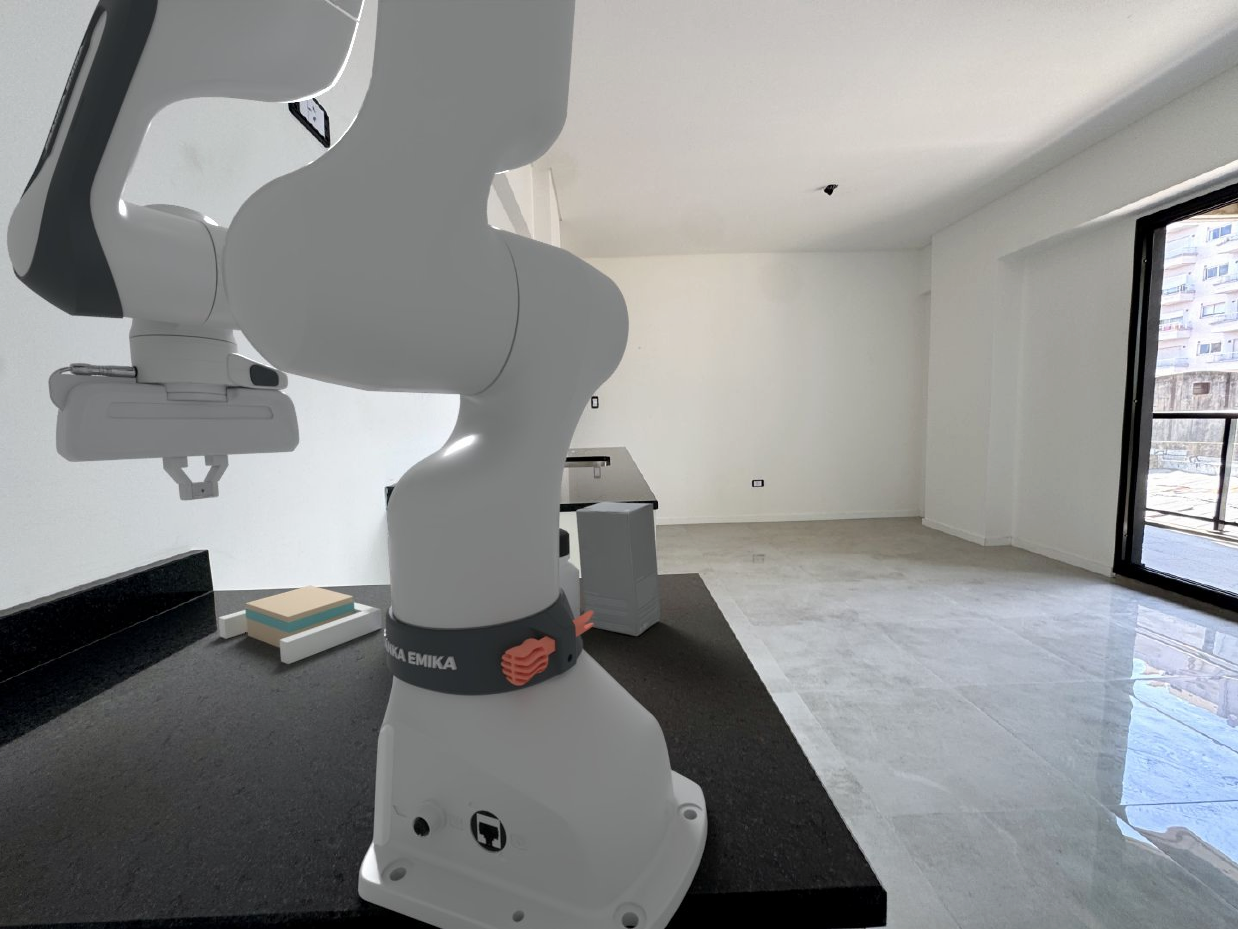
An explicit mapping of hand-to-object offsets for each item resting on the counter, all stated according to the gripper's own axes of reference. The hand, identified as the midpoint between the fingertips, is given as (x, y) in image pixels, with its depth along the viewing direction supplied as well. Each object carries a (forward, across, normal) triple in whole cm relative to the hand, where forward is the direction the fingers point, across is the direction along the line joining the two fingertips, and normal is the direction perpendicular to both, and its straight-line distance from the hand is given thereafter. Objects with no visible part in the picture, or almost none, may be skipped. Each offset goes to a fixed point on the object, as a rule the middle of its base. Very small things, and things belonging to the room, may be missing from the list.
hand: (199, 498), depth 56 cm
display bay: (+19, +9, +1) cm, 21 cm away
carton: (+19, +10, +1) cm, 21 cm away
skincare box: (+20, +31, -34) cm, 50 cm away
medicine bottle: (+20, +29, -24) cm, 42 cm away
